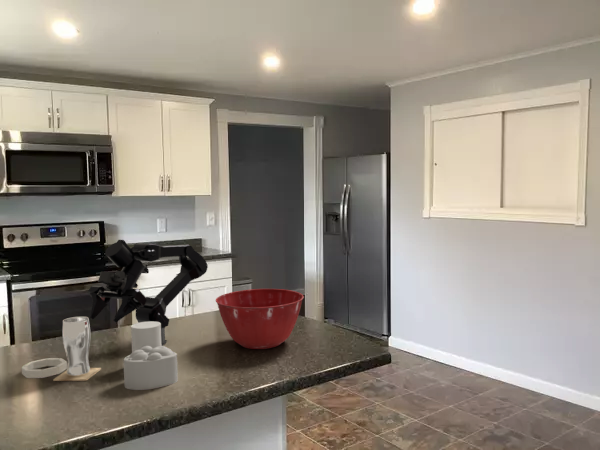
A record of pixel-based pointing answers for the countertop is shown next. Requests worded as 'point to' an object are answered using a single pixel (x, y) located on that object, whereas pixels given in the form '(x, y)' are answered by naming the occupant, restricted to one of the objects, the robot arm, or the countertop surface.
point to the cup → (146, 335)
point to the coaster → (79, 378)
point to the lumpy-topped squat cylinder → (150, 368)
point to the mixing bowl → (260, 316)
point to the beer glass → (77, 345)
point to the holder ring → (33, 372)
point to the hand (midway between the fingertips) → (102, 320)
